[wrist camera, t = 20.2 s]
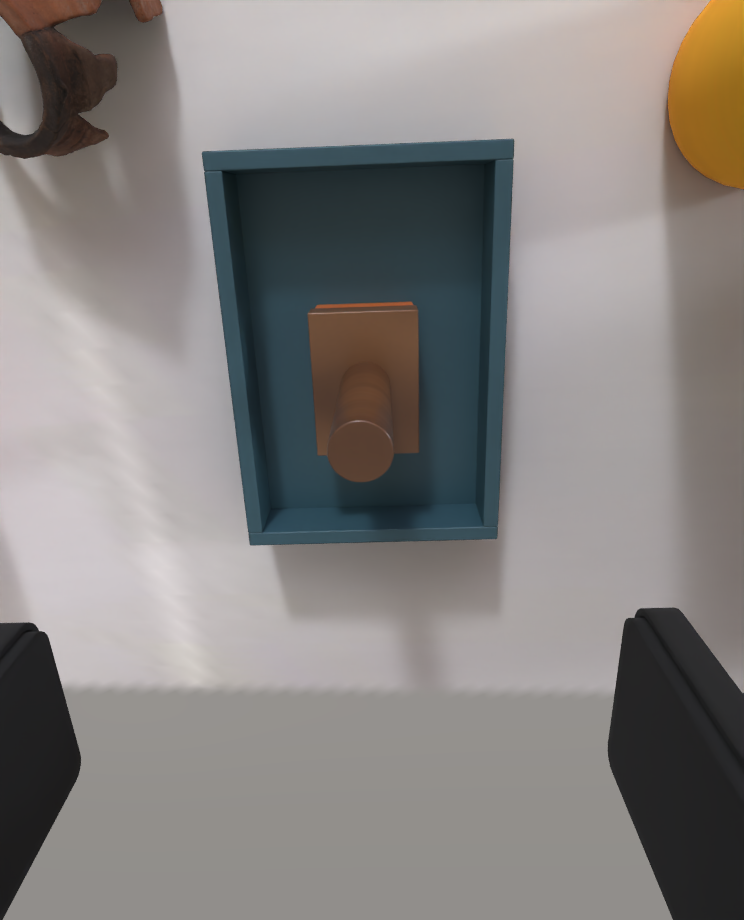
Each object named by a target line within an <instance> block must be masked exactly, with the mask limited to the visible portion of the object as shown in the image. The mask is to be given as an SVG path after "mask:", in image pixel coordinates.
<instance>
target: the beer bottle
mask: <svg viewBox="0 0 744 920" xmlns="http://www.w3.org/2000/svg"><path fill="white" fill-rule="evenodd" d="M668 111H669V122H670V125H671V129H672V132H673V136H674V139H675V141H676V143H677V145H678V147H679V149H680V151H681V153H682V154H683V156H684V157H685V158H686V159H687V160H688V162H689V163H690V164H691V165H692V166H693V167H694V168H695V169H696V170H698V171H699V172H700V173H701V174H703V175H704V176H705V177H707V178H709V179H712V180H714V181H716V182H718V183H720V184H723V185H726V186H731V187H735V188H740V189H744V0H711V1H710V2H709V3H708V5H707V6H706V7H705V8H704V10H703V11H702V12H701V13H700V15H699V16H698V17H697V18H696V20H695V21H694V22H693V24H692V26H691V27H690V29H689V31H688V33H687V34H686V36H685V38H684V39H683V41H682V43H681V46H680V48H679V51H678V53H677V56H676V58H675V61H674V64H673V68H672V72H671V77H670V81H669V91H668Z"/></svg>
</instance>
